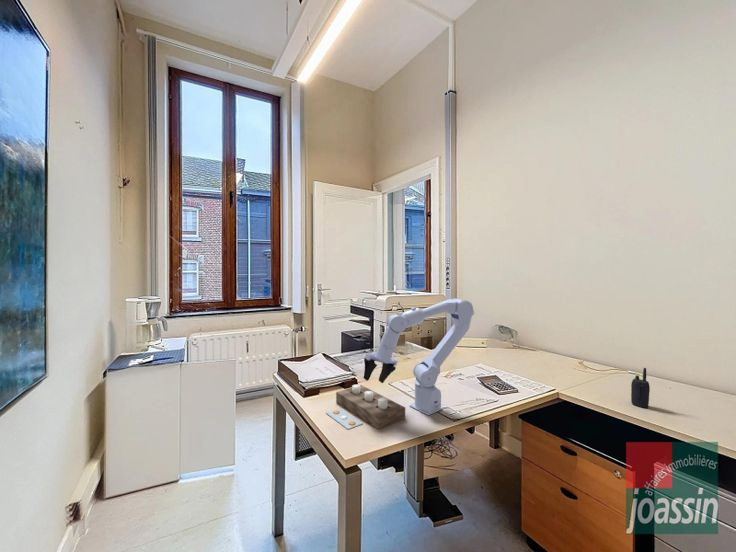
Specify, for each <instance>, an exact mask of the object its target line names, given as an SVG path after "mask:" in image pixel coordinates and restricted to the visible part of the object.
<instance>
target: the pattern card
mask: <svg viewBox="0 0 736 552" xmlns="http://www.w3.org/2000/svg"><path fill="white" fill-rule="evenodd" d="M326 413H327V414H328V415H327V414H326V415H327V416H329V417H330V416H331V417H332V418H331V417H330V418H331V419H333V420H334V419H335V420H334V421H335V422H337V423H338V422H339V423H338V424H339V425H341V426H342V425H343V428H345V429H347V430H348V429H349V430H352V429H353V428H356V427H359V426H361V425H364V423H363V422H362V421H360V420H359V419H358V418H356V417H354V416H353V415H351V414H350V413H348V412H347V411H345V410H343V409H342V408H337V409H334V410H331V411H328V412H326Z"/></svg>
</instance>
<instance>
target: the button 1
mask: <svg viewBox="0 0 736 552" xmlns="http://www.w3.org/2000/svg"><path fill="white" fill-rule="evenodd" d="M360 385H361V384H353V385H351V388H352V394H354V395H358V394H360Z"/></svg>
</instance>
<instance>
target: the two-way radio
mask: <svg viewBox="0 0 736 552" xmlns="http://www.w3.org/2000/svg"><path fill="white" fill-rule="evenodd" d="M630 388H631V390H630V391H631V392H630V393H631V394H630V398H631V399H630V400H631V401H630V402H631V404H632V405H634V406H637V407H640V408H643V409H645V408H646V409H647V408H648V407H649V403H650V391H651V390H650V389H651V387H650V382H649V381H647V368H646V367H643V371H642V379H640V376H639V375H637V374H635V377H634V378H633V379H632V381H631V387H630Z"/></svg>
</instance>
